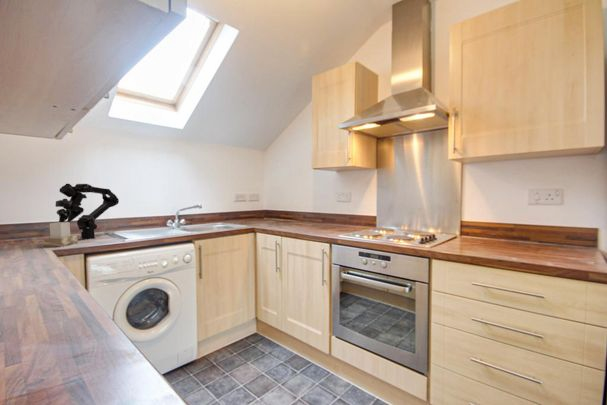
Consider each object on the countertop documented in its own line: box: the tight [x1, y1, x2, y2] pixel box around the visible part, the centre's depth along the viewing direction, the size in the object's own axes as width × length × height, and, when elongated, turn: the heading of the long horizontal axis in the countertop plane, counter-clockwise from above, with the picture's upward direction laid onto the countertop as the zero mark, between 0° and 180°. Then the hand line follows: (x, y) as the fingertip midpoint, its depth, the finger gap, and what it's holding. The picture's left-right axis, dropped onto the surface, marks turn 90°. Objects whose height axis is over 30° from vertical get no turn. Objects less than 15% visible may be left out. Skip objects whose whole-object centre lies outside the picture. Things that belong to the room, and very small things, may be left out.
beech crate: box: [42, 235, 79, 248], centre depth 171 cm, size 11×11×4 cm
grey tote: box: [49, 221, 71, 239], centre depth 170 cm, size 6×6×12 cm
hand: (63, 223), depth 176 cm, fingers open, 9 cm apart
